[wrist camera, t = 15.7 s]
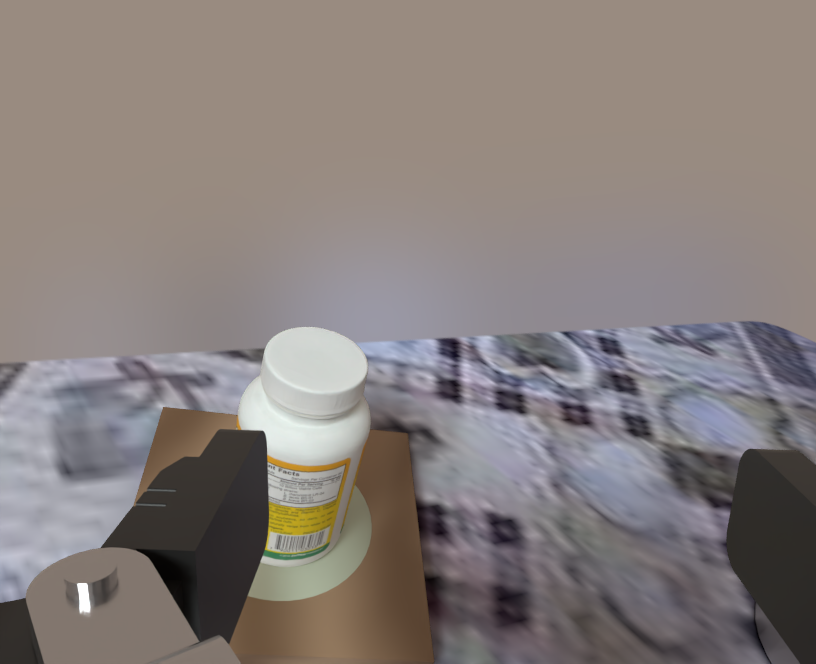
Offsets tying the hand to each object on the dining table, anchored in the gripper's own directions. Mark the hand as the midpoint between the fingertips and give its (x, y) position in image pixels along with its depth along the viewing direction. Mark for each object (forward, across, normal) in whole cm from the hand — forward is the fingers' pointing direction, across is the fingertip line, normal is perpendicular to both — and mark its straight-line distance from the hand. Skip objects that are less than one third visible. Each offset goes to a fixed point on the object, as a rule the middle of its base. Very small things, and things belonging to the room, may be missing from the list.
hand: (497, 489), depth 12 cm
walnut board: (+18, +8, +12) cm, 23 cm away
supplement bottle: (+17, +7, +12) cm, 22 cm away
